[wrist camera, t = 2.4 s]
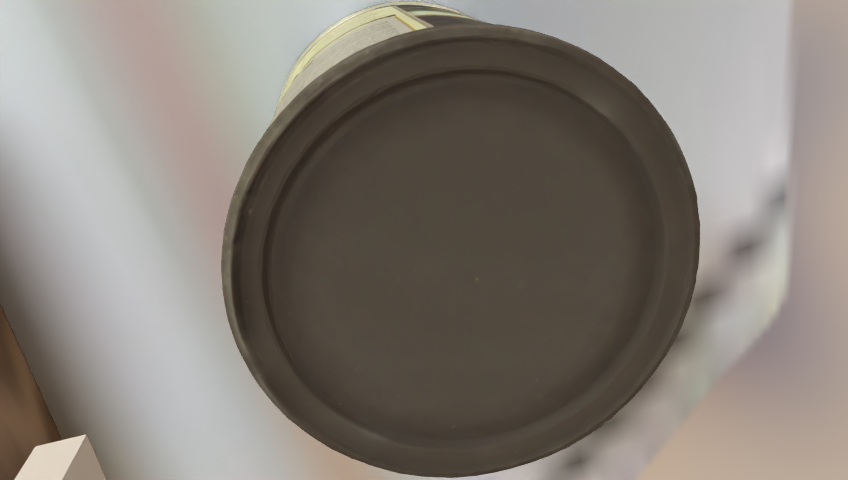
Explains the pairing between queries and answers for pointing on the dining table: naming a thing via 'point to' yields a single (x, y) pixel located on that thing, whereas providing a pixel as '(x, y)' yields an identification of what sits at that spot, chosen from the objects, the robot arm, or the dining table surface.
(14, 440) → the walnut plinth
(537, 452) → the coffee can
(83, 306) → the dining table surface
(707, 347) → the dining table surface
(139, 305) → the dining table surface
